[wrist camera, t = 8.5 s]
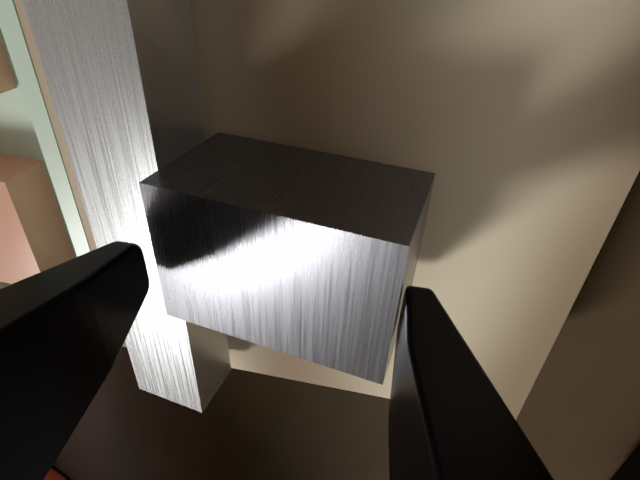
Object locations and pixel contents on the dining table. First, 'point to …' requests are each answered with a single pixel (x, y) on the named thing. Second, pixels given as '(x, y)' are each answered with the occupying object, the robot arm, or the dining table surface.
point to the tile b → (29, 221)
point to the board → (442, 143)
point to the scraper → (222, 208)
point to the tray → (34, 125)
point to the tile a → (5, 73)
